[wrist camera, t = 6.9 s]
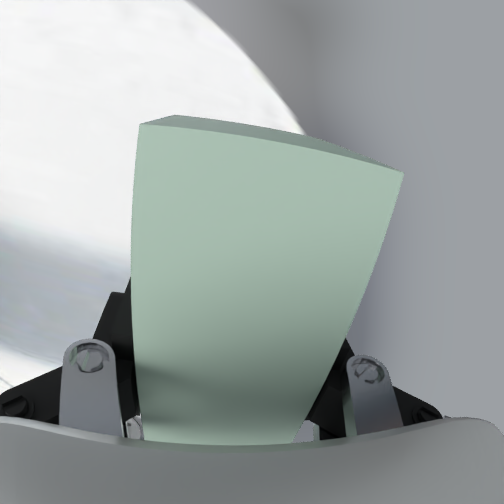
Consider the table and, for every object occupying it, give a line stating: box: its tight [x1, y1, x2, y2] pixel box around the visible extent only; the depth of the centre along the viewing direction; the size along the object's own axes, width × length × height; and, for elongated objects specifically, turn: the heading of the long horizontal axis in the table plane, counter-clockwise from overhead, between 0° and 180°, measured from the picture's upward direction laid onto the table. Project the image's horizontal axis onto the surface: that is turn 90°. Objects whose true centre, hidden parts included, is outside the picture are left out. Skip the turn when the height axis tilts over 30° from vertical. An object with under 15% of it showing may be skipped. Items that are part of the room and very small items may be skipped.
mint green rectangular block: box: [131, 115, 404, 445], centre depth 9 cm, size 4×12×5 cm, turn 170°
